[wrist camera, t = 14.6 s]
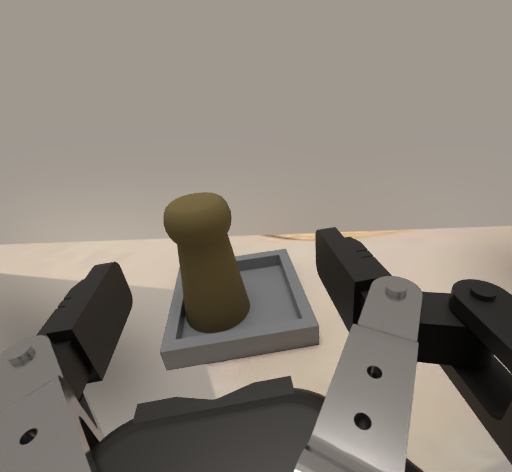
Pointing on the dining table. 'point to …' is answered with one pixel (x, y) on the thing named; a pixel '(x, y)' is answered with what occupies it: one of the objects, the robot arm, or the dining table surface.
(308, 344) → the tray
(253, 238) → the dining table surface
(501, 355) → the robot arm
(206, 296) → the cork
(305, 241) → the dining table surface
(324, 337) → the dining table surface
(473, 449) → the dining table surface
